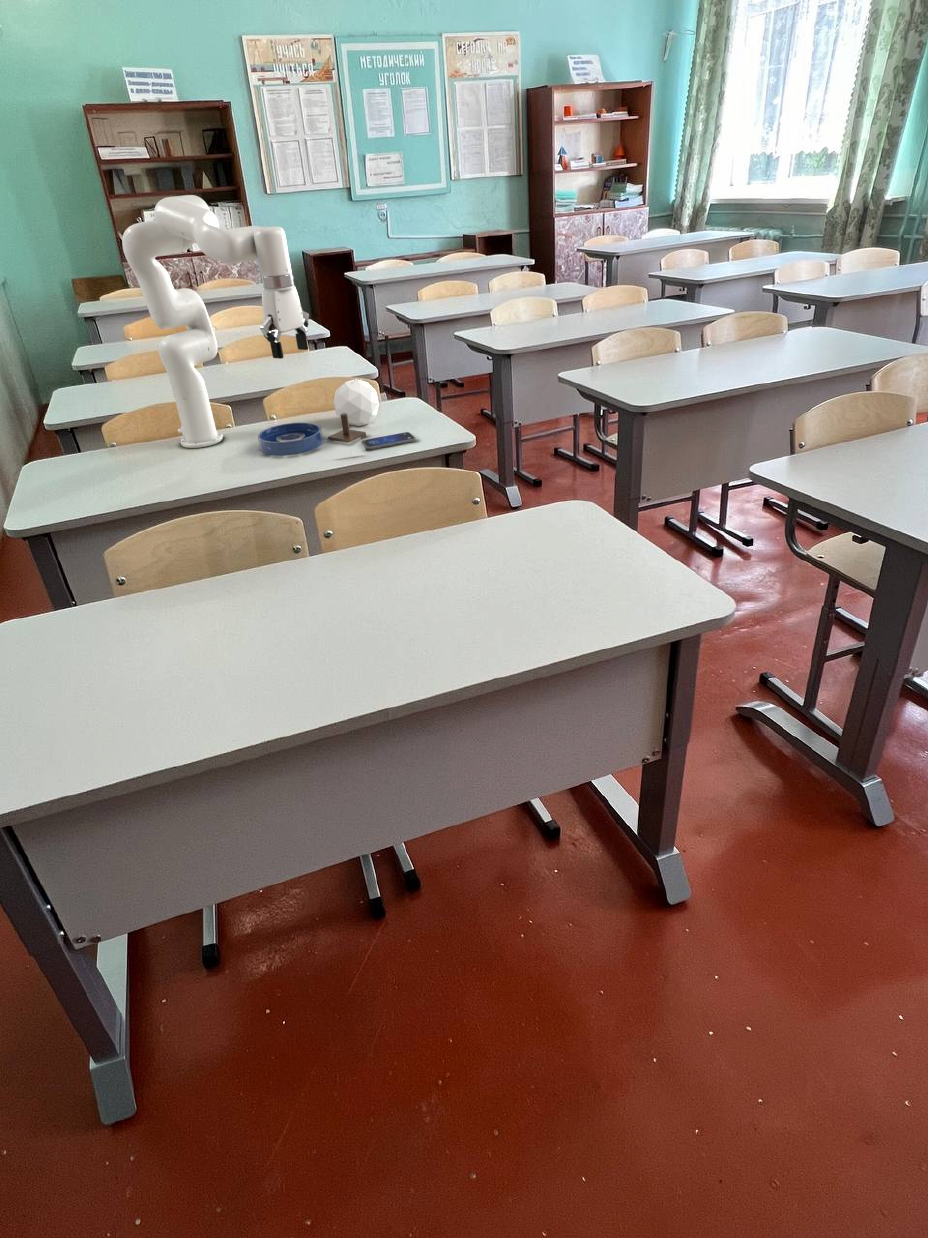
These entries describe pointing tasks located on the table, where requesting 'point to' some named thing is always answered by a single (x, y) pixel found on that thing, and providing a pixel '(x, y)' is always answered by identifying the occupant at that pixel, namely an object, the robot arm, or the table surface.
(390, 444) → the smartphone
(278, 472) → the table surface
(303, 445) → the bowl
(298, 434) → the ring
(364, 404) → the geodesic sphere
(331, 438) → the peg board base
